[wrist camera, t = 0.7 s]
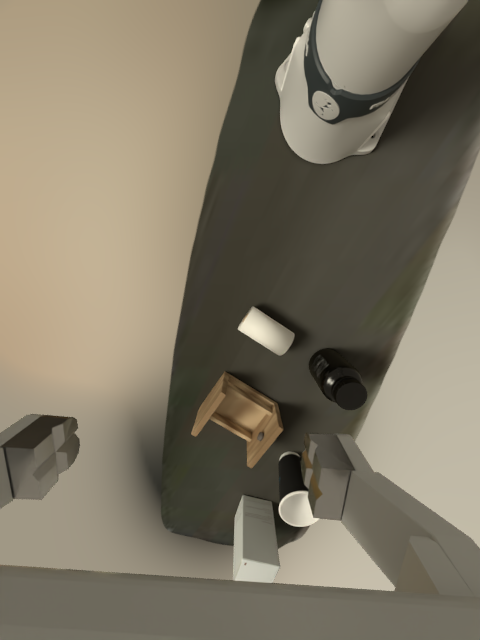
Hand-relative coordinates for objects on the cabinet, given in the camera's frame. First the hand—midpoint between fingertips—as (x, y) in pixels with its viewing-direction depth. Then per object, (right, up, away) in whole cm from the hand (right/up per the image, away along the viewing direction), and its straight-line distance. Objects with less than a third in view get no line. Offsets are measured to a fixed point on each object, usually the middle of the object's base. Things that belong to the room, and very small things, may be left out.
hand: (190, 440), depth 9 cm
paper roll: (+6, +2, +36) cm, 36 cm away
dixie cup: (+13, -27, +45) cm, 54 cm away
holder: (+1, -14, +42) cm, 44 cm away
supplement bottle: (+19, -4, +40) cm, 44 cm away
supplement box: (+5, -40, +49) cm, 63 cm away
